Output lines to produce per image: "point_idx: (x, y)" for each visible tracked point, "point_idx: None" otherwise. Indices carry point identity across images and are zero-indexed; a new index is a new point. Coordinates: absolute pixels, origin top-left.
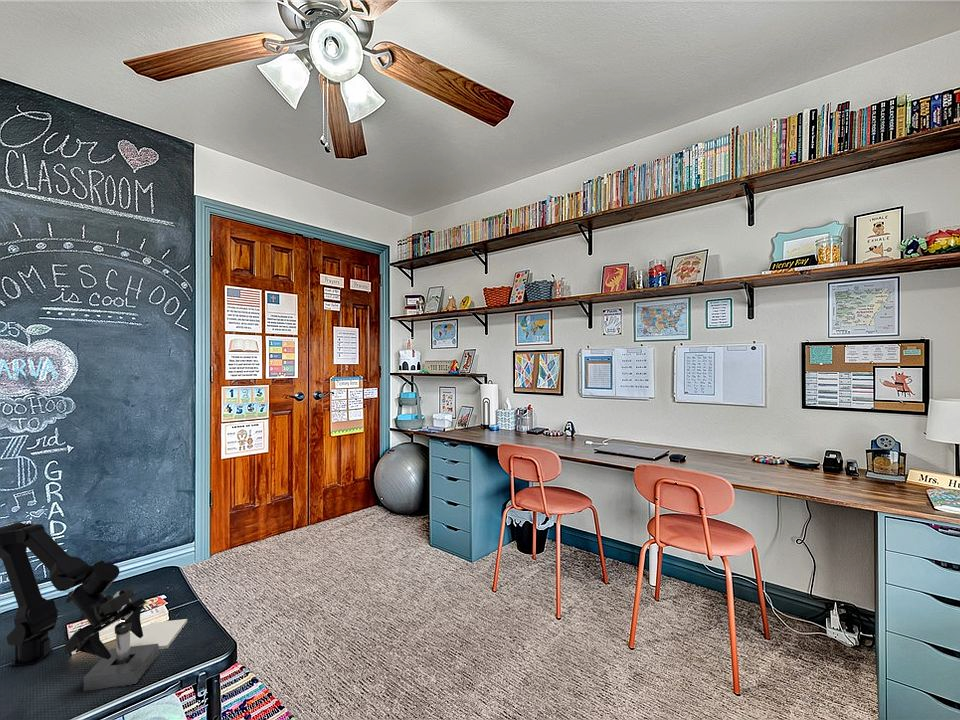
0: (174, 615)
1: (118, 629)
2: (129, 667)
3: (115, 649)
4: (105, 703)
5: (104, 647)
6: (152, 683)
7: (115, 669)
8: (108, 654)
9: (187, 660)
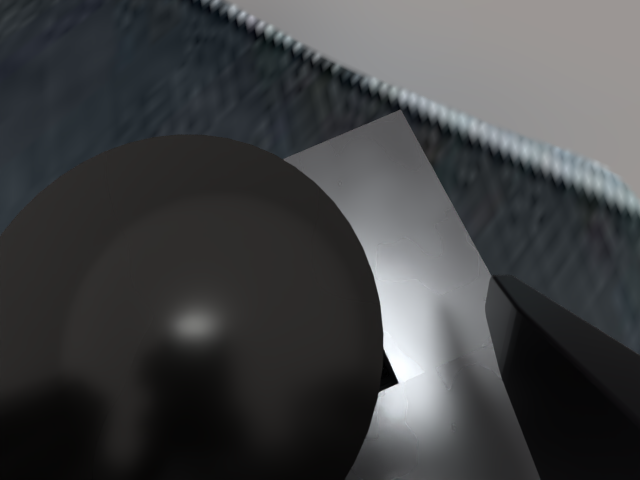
0: None
1: (372, 274)
2: (377, 195)
3: None
4: (566, 180)
5: (590, 355)
6: (361, 80)
7: (425, 282)
8: (529, 287)
9: (160, 63)
